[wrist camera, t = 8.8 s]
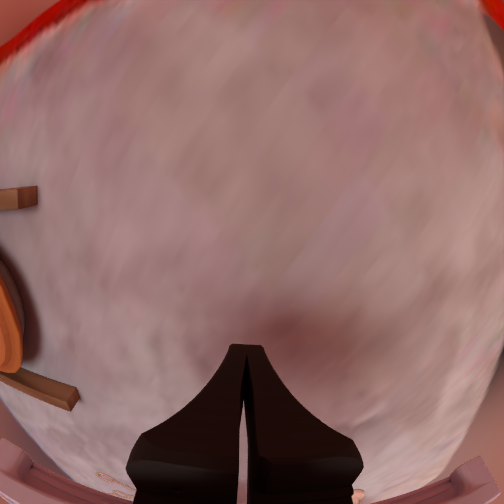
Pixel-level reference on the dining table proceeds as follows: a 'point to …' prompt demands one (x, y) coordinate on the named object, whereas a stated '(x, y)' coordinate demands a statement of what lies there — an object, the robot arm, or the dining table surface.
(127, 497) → the scissors
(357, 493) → the candle
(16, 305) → the pie
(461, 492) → the robot arm
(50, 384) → the serving rack
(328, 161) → the dining table surface
